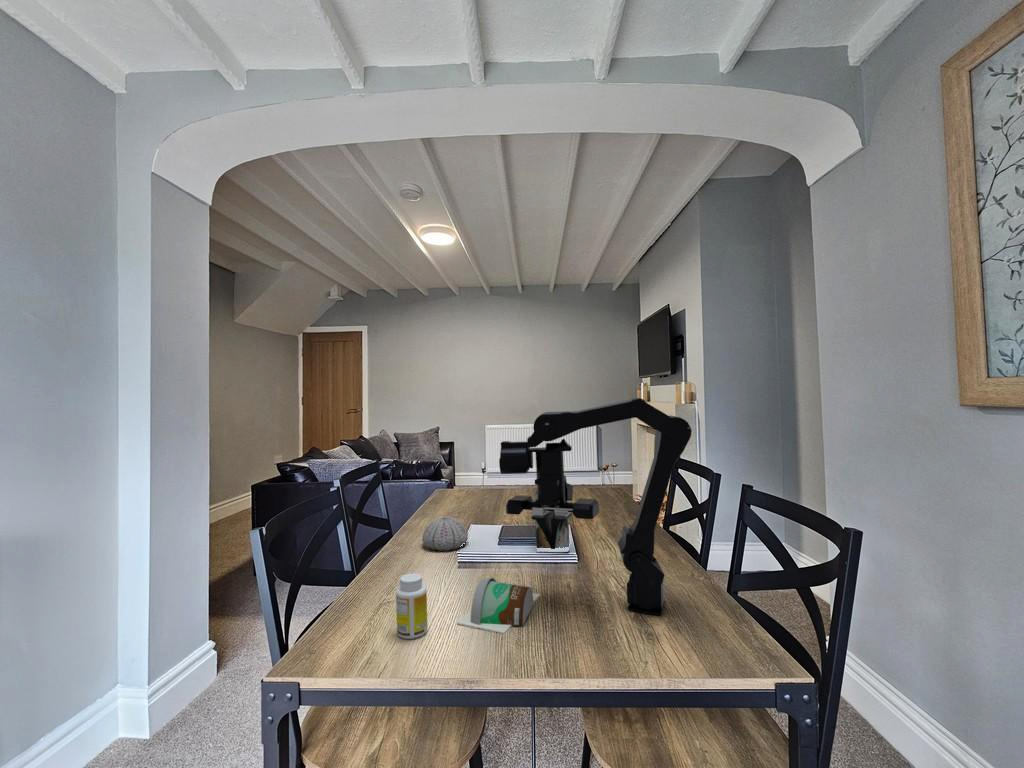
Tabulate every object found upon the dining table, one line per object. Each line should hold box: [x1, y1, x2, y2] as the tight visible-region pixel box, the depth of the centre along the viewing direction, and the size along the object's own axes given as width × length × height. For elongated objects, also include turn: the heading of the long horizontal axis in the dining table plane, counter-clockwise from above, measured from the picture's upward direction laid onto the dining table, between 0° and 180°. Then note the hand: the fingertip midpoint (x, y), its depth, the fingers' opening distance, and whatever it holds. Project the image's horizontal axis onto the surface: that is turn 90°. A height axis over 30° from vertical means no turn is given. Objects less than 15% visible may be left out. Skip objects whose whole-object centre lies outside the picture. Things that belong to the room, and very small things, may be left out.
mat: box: [456, 592, 541, 635], centre depth 100 cm, size 10×18×1 cm, turn 155°
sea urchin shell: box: [421, 516, 469, 552], centre depth 142 cm, size 13×14×8 cm
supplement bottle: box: [395, 573, 428, 640], centre depth 91 cm, size 6×6×10 cm
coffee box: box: [534, 490, 570, 548], centre depth 137 cm, size 9×6×16 cm
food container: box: [470, 577, 534, 626], centre depth 98 cm, size 12×6×10 cm
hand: (553, 548), depth 102 cm, fingers closed
